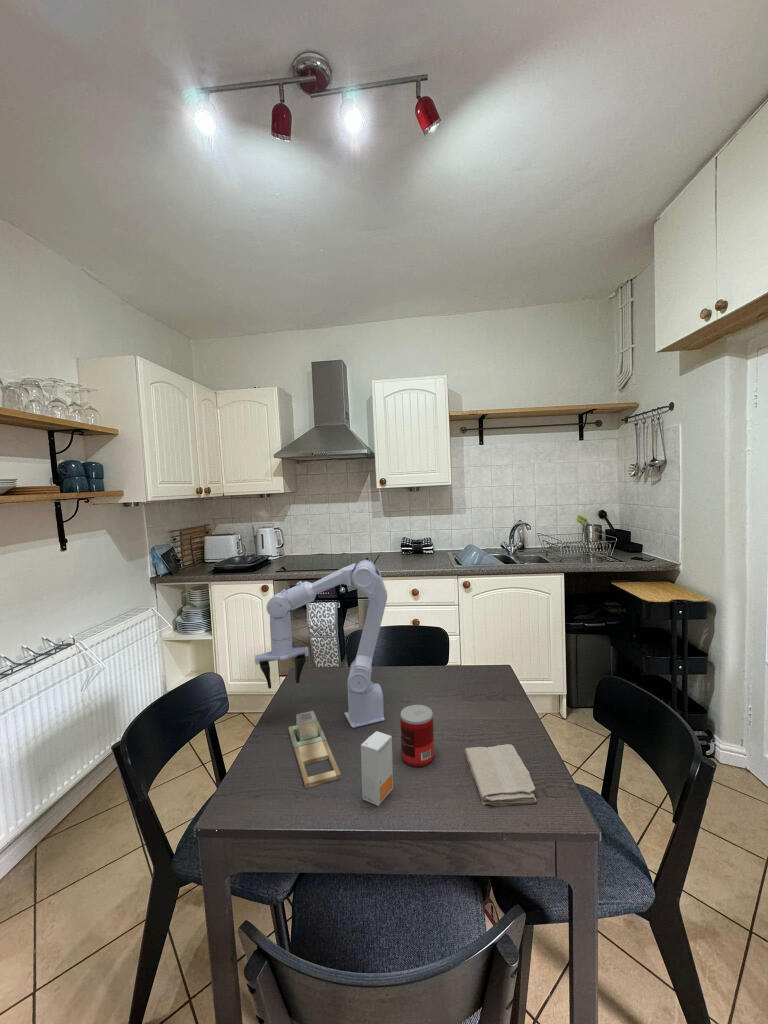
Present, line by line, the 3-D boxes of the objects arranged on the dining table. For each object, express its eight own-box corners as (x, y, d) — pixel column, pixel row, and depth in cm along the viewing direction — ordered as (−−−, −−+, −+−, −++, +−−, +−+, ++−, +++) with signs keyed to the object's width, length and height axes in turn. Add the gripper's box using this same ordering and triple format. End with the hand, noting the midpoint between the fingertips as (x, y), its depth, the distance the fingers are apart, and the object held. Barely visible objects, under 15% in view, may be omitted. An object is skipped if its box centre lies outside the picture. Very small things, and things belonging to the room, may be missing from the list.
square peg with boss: (314, 732, 116) (313, 709, 116) (317, 741, 112) (316, 717, 112) (297, 736, 115) (296, 713, 114) (300, 746, 111) (299, 722, 110)
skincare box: (379, 807, 89) (376, 750, 88) (361, 799, 91) (359, 744, 90) (394, 789, 94) (392, 735, 93) (377, 782, 96) (375, 730, 95)
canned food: (437, 750, 107) (435, 706, 106) (429, 770, 99) (428, 724, 99) (407, 744, 109) (405, 702, 109) (397, 764, 102) (396, 719, 101)
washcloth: (483, 810, 87) (482, 796, 87) (462, 755, 105) (462, 742, 105) (541, 806, 88) (541, 791, 88) (510, 751, 106) (510, 739, 106)
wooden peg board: (318, 724, 120) (317, 720, 120) (340, 778, 98) (340, 773, 98) (288, 731, 117) (288, 726, 117) (305, 788, 95) (305, 783, 95)
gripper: (255, 646, 115) (258, 695, 116) (309, 637, 120) (312, 685, 121) (253, 637, 122) (255, 684, 122) (305, 629, 127) (307, 675, 128)
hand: (283, 684), depth 122 cm, fingers open, 7 cm apart
